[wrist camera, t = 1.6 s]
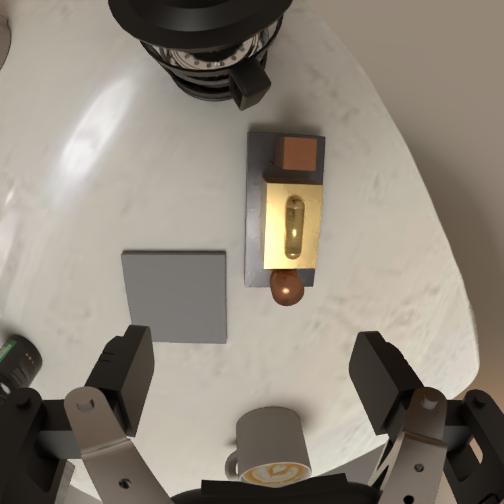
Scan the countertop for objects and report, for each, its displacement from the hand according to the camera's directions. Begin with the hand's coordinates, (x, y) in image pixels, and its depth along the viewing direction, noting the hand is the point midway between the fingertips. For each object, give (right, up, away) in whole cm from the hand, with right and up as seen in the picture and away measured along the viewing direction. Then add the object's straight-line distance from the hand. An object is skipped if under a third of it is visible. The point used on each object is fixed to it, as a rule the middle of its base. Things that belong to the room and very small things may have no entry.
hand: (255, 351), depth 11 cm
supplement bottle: (-35, -12, +24) cm, 44 cm away
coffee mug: (+1, -24, +31) cm, 39 cm away
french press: (-3, +22, +14) cm, 26 cm away
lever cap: (+3, +7, +17) cm, 19 cm away
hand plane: (+3, +8, +19) cm, 21 cm away
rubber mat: (-9, -1, +22) cm, 24 cm away
